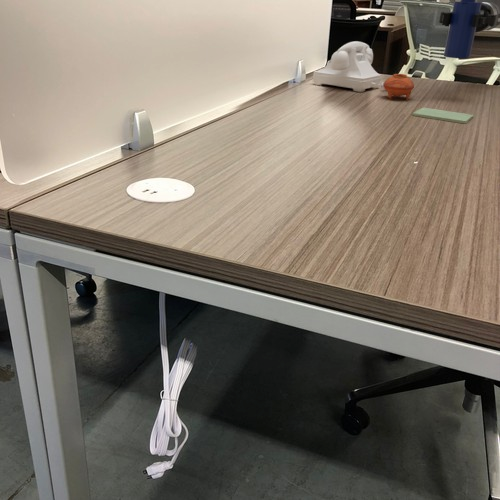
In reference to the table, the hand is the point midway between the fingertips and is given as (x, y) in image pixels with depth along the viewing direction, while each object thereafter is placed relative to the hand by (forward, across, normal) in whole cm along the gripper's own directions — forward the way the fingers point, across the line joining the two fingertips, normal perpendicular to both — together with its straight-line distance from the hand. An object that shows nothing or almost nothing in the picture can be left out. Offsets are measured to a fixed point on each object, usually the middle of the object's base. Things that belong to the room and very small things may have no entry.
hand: (459, 20), depth 125 cm
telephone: (-5, +27, -20) cm, 34 cm away
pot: (+5, +11, -20) cm, 23 cm away
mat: (+19, -5, -20) cm, 28 cm away
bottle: (-5, 0, -9) cm, 10 cm away
